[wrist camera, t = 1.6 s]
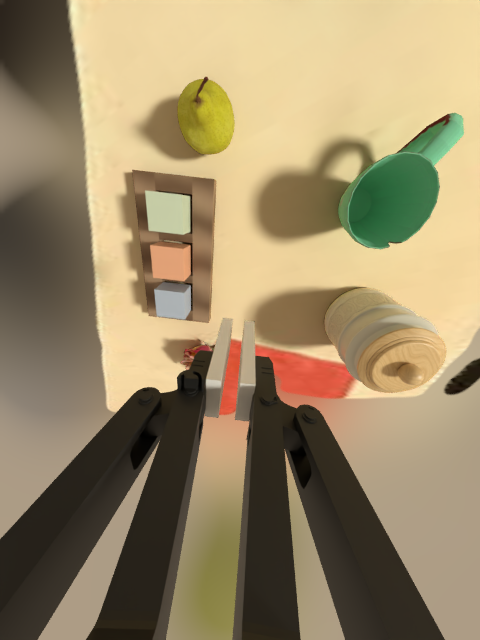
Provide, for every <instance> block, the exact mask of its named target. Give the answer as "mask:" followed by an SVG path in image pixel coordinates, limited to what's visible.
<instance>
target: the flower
mask: <svg viewBox="0 0 480 640" xmlns="http://www.w3.org/2000/svg"><path fill="white" fill-rule="evenodd" d="M202 342H203V341H202ZM204 343H205V344H206V345H201V346H196V347H195V348H192V349H185V351H184V354H185V355H183V356H184V360H183V361H181V362H180V363H181V364H184V365H187V366H186V370H189V369H190V366H191V364H192V361H193V359H194V356H195V354H196V353H197V352H199V351H200V350H205V351H214V348H215V347H214V348H213V349H212V350H211V348H210V346H209V345H208V344H207V343H206V342H204Z"/></svg>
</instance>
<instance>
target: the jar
mask: <svg viewBox="0 0 480 640" xmlns="http://www.w3.org/2000/svg"><path fill="white" fill-rule="evenodd" d="M324 325H325V331H326V334H327V336H328V338H329V339H330V341H331V342H332V343H333V344H334V346H335V348H336V349H337V351H338V353H339V356H340V358H341V359H342V361H343V362H344V363H345V365H346V368H347V370H348V372H349V373H350V374H351V375H352V376H353V377H354V378H355V379H357V380H358V381H360V382H362V383H363V384H364V385H365V386H367V387H368V388H370V389H372V390H375V391H378V392H385V393H395V392H402V391H407V390H411V389H414V388H416V387H419V386H421V385H423V384H424V383H426V382H427V381H429V380H430V379H431V378H432V377H433V376H434V375H435V374H436V373H437V372H438V371H439V369H440V368H441V366H442V365H443V363H444V361H445V357H446V346H445V343H444V341H443V340H442V339H441V337H440V336H439V333H438V331H437V329H436V327H435V326H434V325H433V324H432V323H431V322H430V321H429V320H427V319H425V318H423V317H421V316H418V315H417V314H416V313H415V312H414V311H413V310H411V309H410V308H408V307H405V306H403V305H401V304H400V303H398V302H396V301H395V300H394V299H393V298H392V297H391V296H389V295H388V294H386V293H384V292H382V291H379V290H376V289H371V288H358V289H354V290H351V291H348V292H346V293H344V294H342V295H341V296H339V297H338V298H337V299H336V300H335V301H334V302H333V303H332V304H331V305H330V307H329V308H328V310H327V312H326V315H325V320H324Z"/></svg>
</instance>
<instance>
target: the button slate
mask: <svg viewBox="0 0 480 640" xmlns="http://www.w3.org/2000/svg"><path fill="white" fill-rule="evenodd" d="M154 292H155V303H156V314H157V316H158V317H167V318H175V319H184V320H185V319H186V317H187V316H188V314H189V312H190V311H191V285H185V284H176V283H167V282H163V283H162V284H160V285H159V286H158V287H157V288H155V289H154Z"/></svg>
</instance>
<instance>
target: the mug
mask: <svg viewBox="0 0 480 640" xmlns="http://www.w3.org/2000/svg"><path fill="white" fill-rule="evenodd" d="M463 134H464V130H463V118H462V116H461V115H459V114H457V113H451V114H447V115H446V116H444V117H442V118H440V119H439V120H437V121H435V122H434V123H432V124H430V125H429V126H427V127H426V128H425V129H424V130H423V131H421V132H420V133H419V134H418V135H417V136H416V137H414V138H413V139H412V140H411V141H410V142H409V143H408V144H406V145H405V146H404V147H403V148H402V149H401V150H400V151H398V152H397V153H396V154H392V155H388V156H386V157H384V158H382V159H381V160H379V161H377V162H376V163H374V164H372V165H371V166H369V167H368V168H367V169H366V170H364V171H363V172H362V173H361V174H360V175H359V176H358V177H357V178H356V179H355V180H354V181H353V182H352V183H351V184H350V185H349V186H348V188H347V189H346V191H345V192H344V194H343V196H342V197H341V199H340V203H339V206H338V215H339V219H340V222H341V224H342V226H343V227H344V229H345V230H346V231H347V232H348V233H349V234H350V236H351V237H352V238H353V239H354V241H356V242H358V243H360V244H361V245H363V246H365V247H368V248H375V249H383V248H388V247H390V246H389V244H388V243H402V242H404V241H406V240H408V239H409V238H410V237H411V236H413V235H414V234H415V233H416V232H418V231H419V230H420V229H421V227H422V226H423V225H424V224H425V222H426V221H427V220H428V219H429V217H430V215H431V213H432V211H433V209H434V207H435V205H436V203H437V198H438V193H439V188H440V186H439V178H438V172H437V170H436V168H435V167H434V165H435V164H436V163H437V162H438V161H439V160H440V159H441V158H442V157H443V156H444V155H445V154H446V153H447V152H448V151H449V150H450V149H451V148H452V147H453V146H454V145H455V144H456V143H457V141H458V140H459V139H460V138H461V137H462V136H463Z"/></svg>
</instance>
